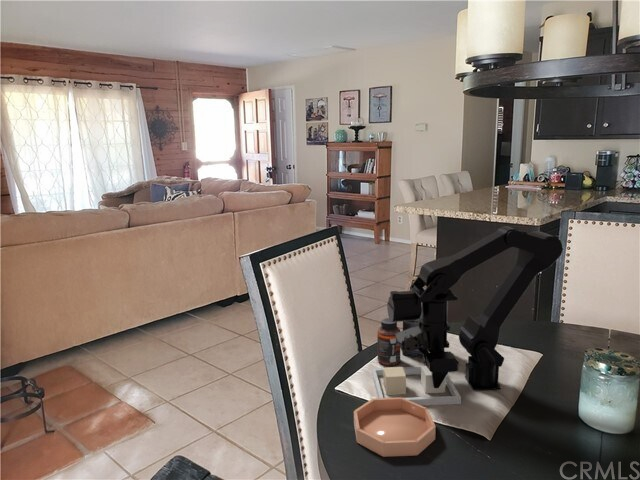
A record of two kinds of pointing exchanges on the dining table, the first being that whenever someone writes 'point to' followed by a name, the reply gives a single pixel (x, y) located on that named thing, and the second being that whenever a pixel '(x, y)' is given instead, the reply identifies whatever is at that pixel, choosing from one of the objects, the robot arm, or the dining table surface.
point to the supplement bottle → (388, 343)
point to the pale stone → (430, 382)
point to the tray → (422, 400)
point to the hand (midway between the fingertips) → (433, 381)
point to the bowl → (394, 427)
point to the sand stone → (394, 380)
